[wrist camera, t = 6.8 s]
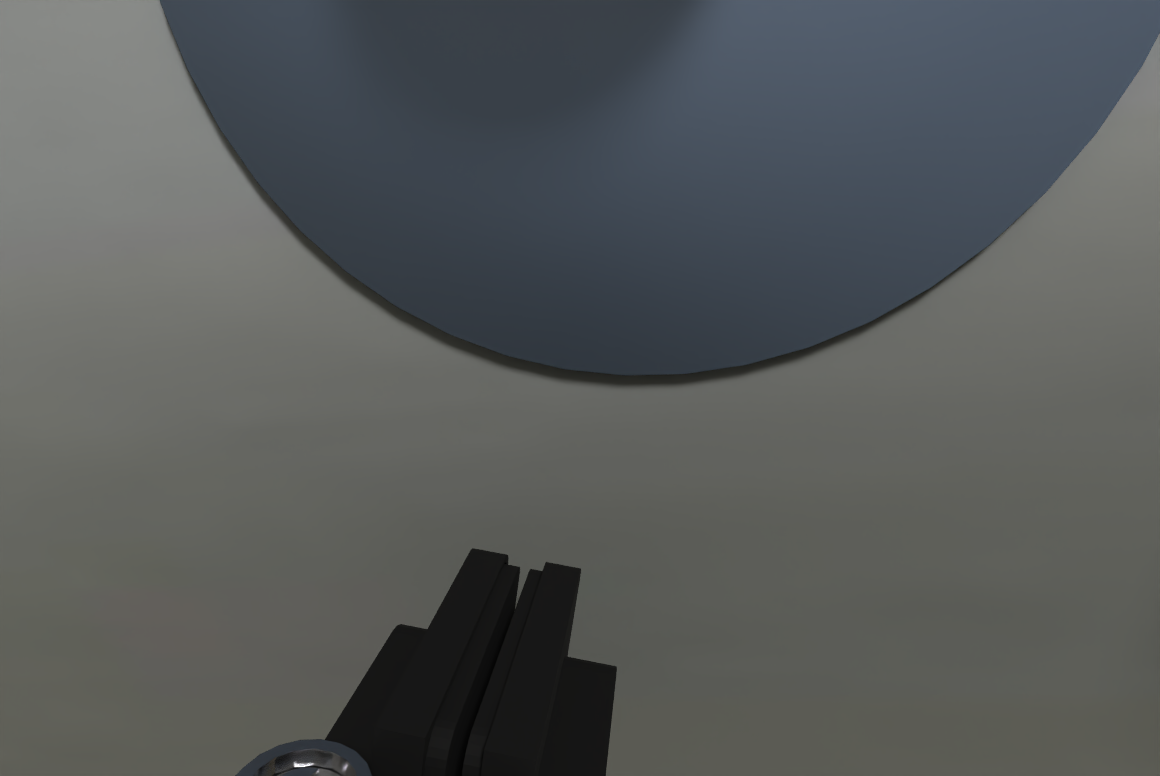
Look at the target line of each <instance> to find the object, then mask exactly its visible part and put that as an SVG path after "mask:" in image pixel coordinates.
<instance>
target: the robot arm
mask: <svg viewBox="0 0 1160 776" xmlns="http://www.w3.org/2000/svg"><path fill="white" fill-rule="evenodd" d="M519 574H520V567H517V566H512V565H508V555H505V554H500V553H495V552H489V551H484V550H479V549H472V550H471V551H470V553H469V554H468V556H467V558H466V560H465V562H464V563H463V565H462V567H461V569H460V571H459V573H458V574H457V576H456V578H455V580H454V582H453V584H452V585H451V587H450V589H449V591H448V593H447V595H446V596H445V598H444V600H443V602H442V604H441V606H440V607H439V609H438V611H437V613H436V615H435V616H434V618H433V620H432V622H431V624H430V626H429V627H428V629H423V628H418V627H412V626H407V625H402V624H400V625H397V626H396V628H395V629H394V630H393V631H392V633H391V635H390V636H389V638H388V639H387V641H386V643H385V644H384V646H383V647H382V649H381V651H380V652H379V654H378V655H377V657H376V659H375V660H374V662H373V663H372V665H371V667H370V668H369V670H368V671H367V673H366V675H365V676H364V678H363V679H362V681H361V683H360V684H359V686H358V687H357V689H356V691H355V692H354V694H353V695H352V697H351V699H350V700H349V702H348V703H347V705H346V707H345V708H344V710H343V711H342V713H341V715H340V716H339V718H338V719H337V721H336V723H335V724H334V726H333V728H332V729H331V731H330V732H329V734H328V736H327V737H326V739H325V740H322V739H316V740H298V741H294V742H290V743H286V744H282V745H279V746H276V747H274V748H272V749H270V750H268V751H266V752H264V753H262V754H260V755H258V756H257V757H256V758H255V759H253V760H252V761H251V762H250V763H248V764H247V765H246V766H245V767H243V768H242V769H241V770H240V772H239V773H238V774H237V775H236V776H606V766H607V757H608V747H609V738H610V728H611V719H612V710H613V700H614V691H615V681H616V671H617V667H616V666H611V665H606V664H601V663H596V662H591V661H586V660H581V659H576V658H571V657H567V655H568V649H569V643H570V636H571V630H572V624H573V618H574V612H575V605H576V599H577V593H578V587H579V581H580V574H581V569H580V568H575V567H569V566H564V565H559V564H553V563H548V562H546V563H545V566H544V569H543V571H538V570H533V569H530V571H529V573H528V576H527V579H526V581H525V584H524V587H523V590H522V592H521V595H520V598H519V601H518V603H517V606H516V609H515V604H516V596H517V589H518V582H519ZM514 611H515V612H514Z"/></svg>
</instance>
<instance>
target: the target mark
mask: <svg viewBox="0 0 1160 776" xmlns="http://www.w3.org/2000/svg"><path fill="white" fill-rule="evenodd" d="M160 3H161V5H162V8H163V10H164V13H165V15H166V17H167V20H168V22H169V25H170V27H171V30H172V32H173V35H174V37H175V40H176V42H177V44H178V47H179V49H180V52H181V54H182V57H183V59H184V62H185V64H186V67H187V69H188V71H189V73H190V74H191V76H192V78H193V80H194V82H195V84H196V85H197V87H198V89H199V91H200V93H201V95H202V97H203V98H204V100H205V102H206V104H207V106H208V108H209V109H210V111H211V113H212V115H213V117H214V119H215V121H216V122H217V124H218V126H219V128H220V129H221V131H222V132H223V134H224V135H225V137H226V138H227V139H228V141H229V142H230V144H231V145H232V147H233V148H234V149H235V151H236V152H237V154H238V155H239V157H240V158H241V160H242V161H243V162H244V164H245V165H246V167H247V168H248V170H249V171H250V172H251V174H252V175H253V177H254V178H255V180H256V181H257V182H258V184H259V185H260V186H261V187H262V188H263V189H264V190H265V191H266V193H267V194H268V195H269V196H270V197H271V198H272V199H273V200H274V202H275V203H276V204H277V205H278V206H279V207H280V208H281V210H282V211H283V212H284V213H285V214H286V215H287V216H288V217H289V219H290V220H291V221H292V222H293V223H294V224H295V225H296V226H297V228H298V229H299V230H300V231H301V232H302V233H303V234H305V235H306V236H307V237H308V238H309V239H310V240H311V241H312V242H314V243H315V244H316V245H317V246H318V247H319V248H320V249H321V250H323V251H324V252H325V253H326V254H327V255H328V256H329V257H330V258H332V259H333V260H334V261H335V262H336V263H337V264H338V265H339V266H341V267H342V268H343V269H344V270H345V271H346V272H348V273H349V274H350V275H352V276H353V277H355V278H356V279H358V280H359V281H360V282H362V283H363V284H365V285H366V286H368V287H369V288H371V289H372V290H373V291H375V292H376V293H378V294H379V295H381V296H382V297H384V298H385V299H386V300H388V301H389V302H391V303H392V304H394V305H395V306H396V307H398V308H400V309H402V310H404V311H406V312H408V313H410V314H412V315H414V316H416V317H417V318H419V319H421V320H423V321H425V322H427V323H429V324H431V325H433V326H435V327H436V328H438V329H440V330H442V331H444V332H446V333H448V334H450V335H452V336H455V337H458V338H461V339H463V340H466V341H469V342H471V343H474V344H477V345H479V346H482V347H485V348H487V349H490V350H493V351H495V352H498V353H501V354H503V355H506V356H510V357H515V358H519V359H523V360H527V361H532V362H536V363H540V364H544V365H549V366H553V367H557V368H561V369H567V370H577V371H587V372H596V373H606V374H616V375H662V374H688V373H695V372H702V371H708V370H715V369H722V368H728V367H735V366H741V365H748V364H751V363H755V362H758V361H762V360H766V359H769V358H773V357H776V356H780V355H783V354H787V353H790V352H794V351H798V350H801V349H805V348H808V347H811V346H813V345H816V344H818V343H821V342H823V341H825V340H828V339H830V338H833V337H835V336H837V335H840V334H842V333H845V332H847V331H849V330H852V329H854V328H857V327H859V326H861V325H864V324H866V323H868V322H871V321H873V320H874V319H876V318H878V317H880V316H882V315H883V314H885V313H887V312H889V311H890V310H892V309H894V308H896V307H897V306H899V305H901V304H903V303H904V302H906V301H908V300H910V299H912V298H913V297H915V296H917V295H919V294H920V293H922V292H924V291H926V290H927V289H929V288H931V287H932V286H934V285H935V284H937V283H938V282H939V281H941V280H942V279H943V278H945V277H946V276H947V275H949V274H950V273H951V272H953V271H954V270H956V269H957V268H958V267H960V266H961V265H962V264H964V263H965V262H966V261H968V260H969V259H971V258H972V257H973V256H975V255H976V254H977V253H979V252H980V251H981V250H983V249H984V248H986V247H987V246H988V245H990V244H991V243H992V242H993V241H994V240H995V239H996V238H997V237H998V236H999V235H1000V234H1002V233H1003V232H1004V231H1005V230H1006V229H1007V228H1008V227H1009V226H1010V225H1011V224H1012V223H1013V222H1014V221H1016V220H1017V219H1018V218H1019V217H1020V216H1021V215H1022V214H1023V213H1024V212H1025V211H1026V210H1027V209H1028V208H1030V207H1031V206H1032V205H1033V204H1034V203H1035V202H1036V201H1037V200H1038V199H1039V198H1040V197H1041V196H1042V195H1044V194H1045V193H1046V191H1047V190H1048V189H1049V188H1050V187H1051V186H1052V184H1053V183H1054V182H1055V181H1056V180H1057V179H1058V177H1059V176H1060V175H1061V174H1062V173H1063V172H1064V170H1065V169H1066V168H1067V167H1068V166H1069V165H1070V163H1071V162H1072V161H1073V160H1074V159H1075V158H1076V156H1077V155H1078V154H1079V153H1080V152H1081V151H1082V149H1083V148H1084V147H1085V146H1086V145H1087V144H1088V142H1089V141H1090V140H1091V139H1092V138H1093V137H1094V135H1095V134H1096V133H1097V132H1098V130H1099V129H1100V127H1101V126H1102V124H1103V123H1104V121H1105V120H1106V118H1107V117H1108V115H1109V114H1110V112H1111V111H1112V109H1113V108H1114V106H1115V105H1116V104H1117V102H1118V101H1119V99H1120V98H1121V96H1122V95H1123V93H1124V92H1125V90H1126V89H1127V87H1128V86H1129V84H1130V83H1131V81H1132V80H1133V79H1134V77H1135V76H1136V74H1137V73H1138V71H1139V70H1140V68H1141V67H1142V65H1143V63H1144V61H1145V59H1146V58H1147V56H1148V54H1149V52H1150V50H1151V48H1152V46H1153V44H1154V42H1155V40H1156V39H1157V37H1158V35H1159V33H1160V0H160Z"/></svg>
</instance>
